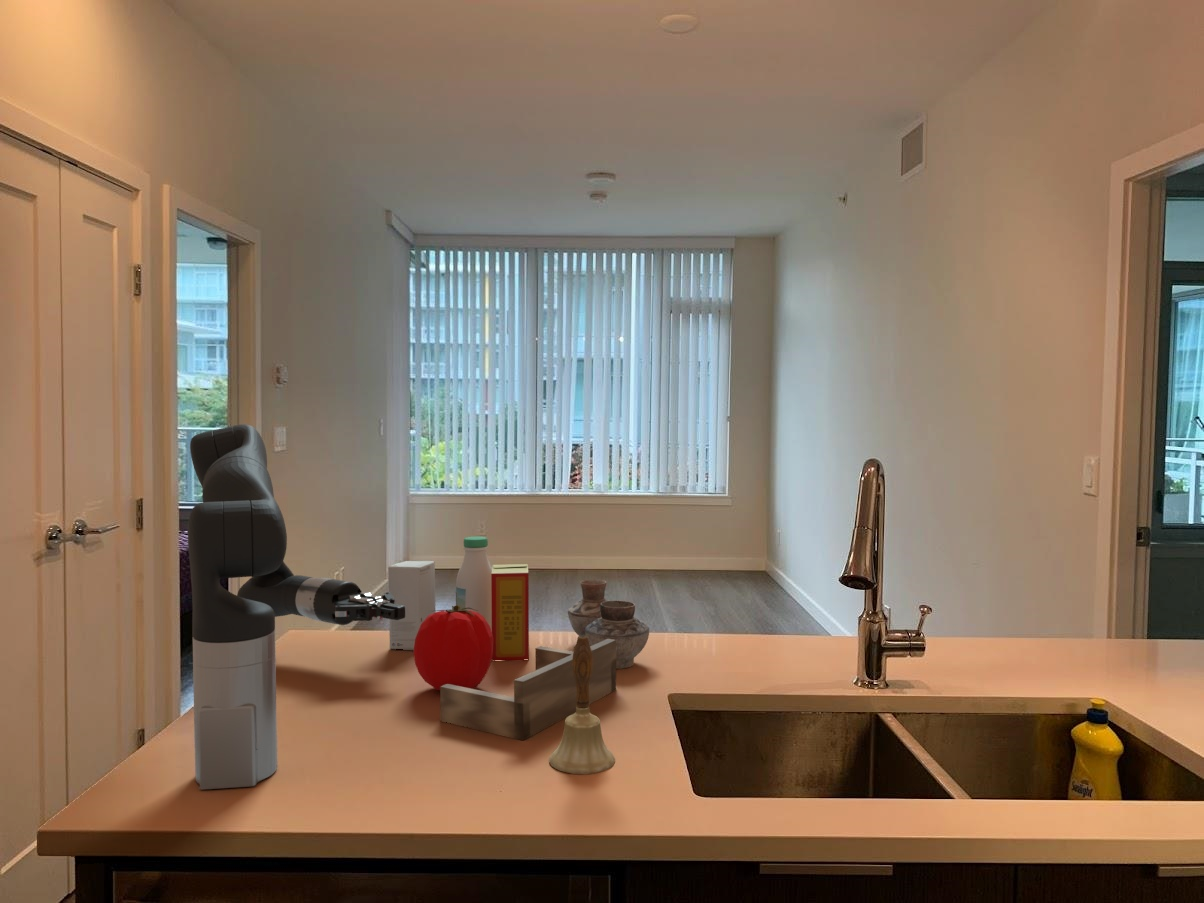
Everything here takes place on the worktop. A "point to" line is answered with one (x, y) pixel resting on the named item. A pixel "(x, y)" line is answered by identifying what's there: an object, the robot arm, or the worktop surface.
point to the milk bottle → (475, 579)
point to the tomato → (453, 648)
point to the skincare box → (411, 599)
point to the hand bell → (582, 724)
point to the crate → (531, 695)
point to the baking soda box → (510, 611)
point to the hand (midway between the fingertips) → (402, 613)
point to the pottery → (608, 622)
